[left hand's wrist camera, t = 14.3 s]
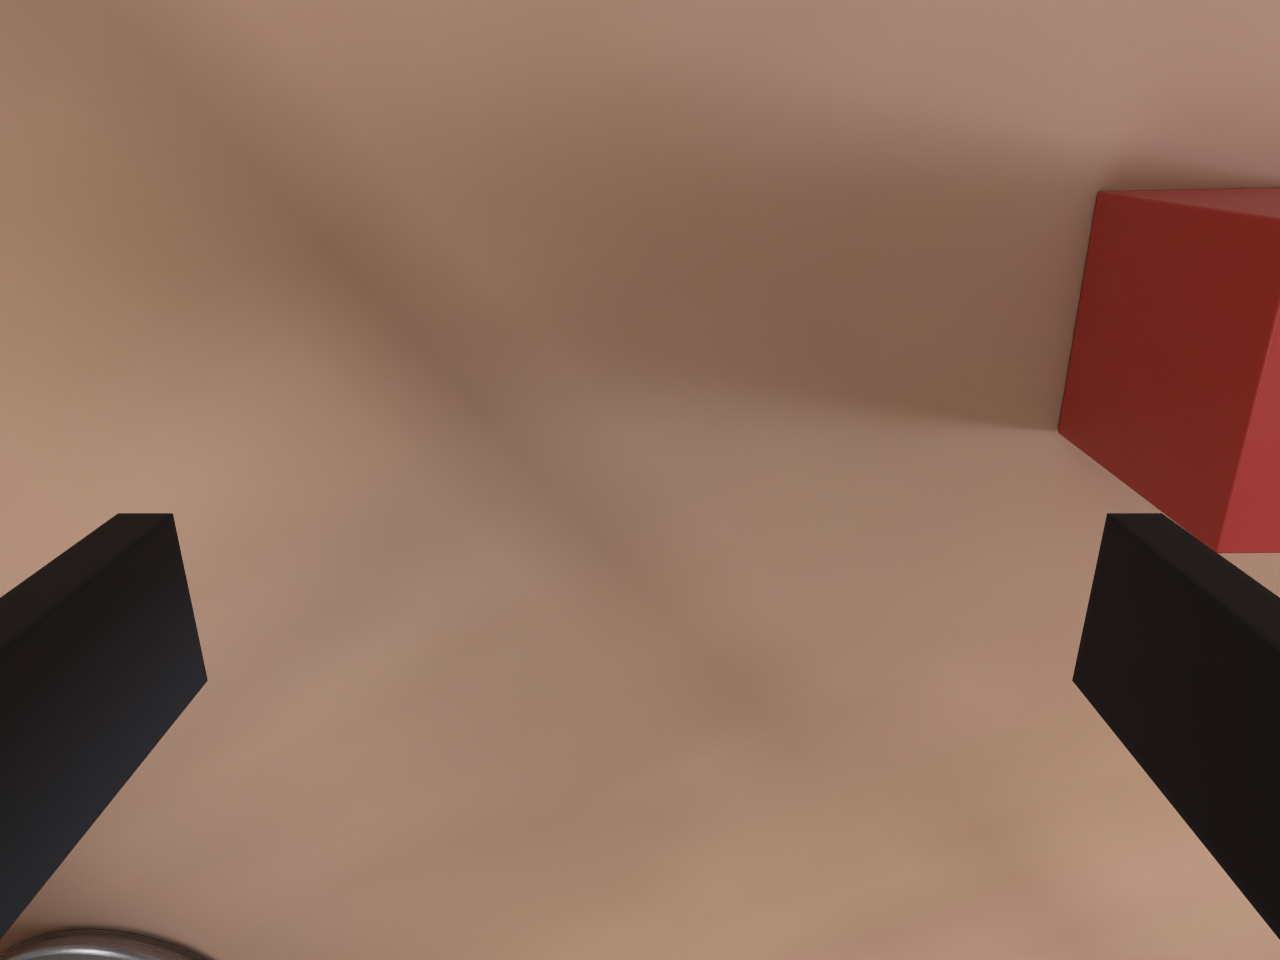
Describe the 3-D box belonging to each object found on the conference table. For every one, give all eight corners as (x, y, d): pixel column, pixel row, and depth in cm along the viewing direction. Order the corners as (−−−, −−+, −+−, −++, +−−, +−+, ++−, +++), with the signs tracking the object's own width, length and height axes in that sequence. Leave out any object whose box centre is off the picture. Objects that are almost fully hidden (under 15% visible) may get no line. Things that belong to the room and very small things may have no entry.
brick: (1320, 186, 28) (1627, 214, 19) (1257, 430, 31) (1497, 551, 22) (1097, 191, 29) (1298, 220, 20) (1057, 432, 32) (1215, 554, 23)
